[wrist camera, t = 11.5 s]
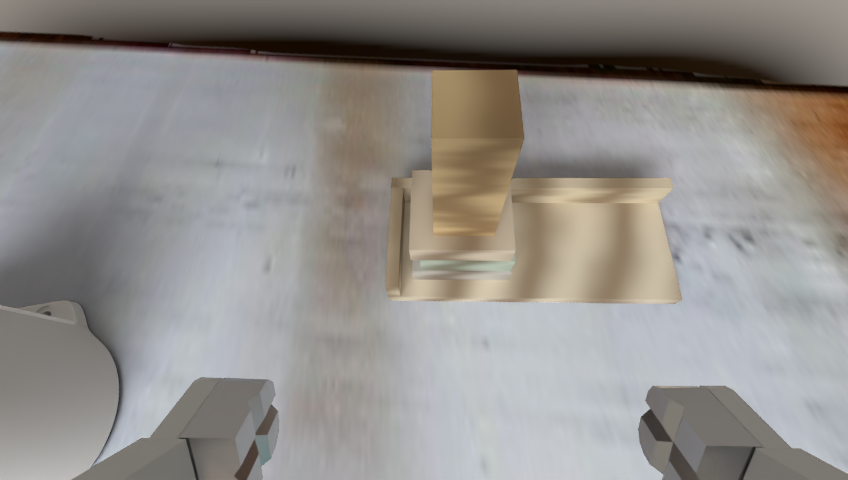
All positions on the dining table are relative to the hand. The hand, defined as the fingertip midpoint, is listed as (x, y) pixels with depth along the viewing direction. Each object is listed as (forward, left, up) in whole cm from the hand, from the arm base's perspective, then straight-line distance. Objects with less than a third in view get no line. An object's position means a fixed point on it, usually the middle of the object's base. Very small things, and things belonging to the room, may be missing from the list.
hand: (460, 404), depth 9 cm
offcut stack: (+1, +14, -23) cm, 27 cm away
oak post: (+1, +14, -17) cm, 22 cm away
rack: (+7, +14, -24) cm, 29 cm away
